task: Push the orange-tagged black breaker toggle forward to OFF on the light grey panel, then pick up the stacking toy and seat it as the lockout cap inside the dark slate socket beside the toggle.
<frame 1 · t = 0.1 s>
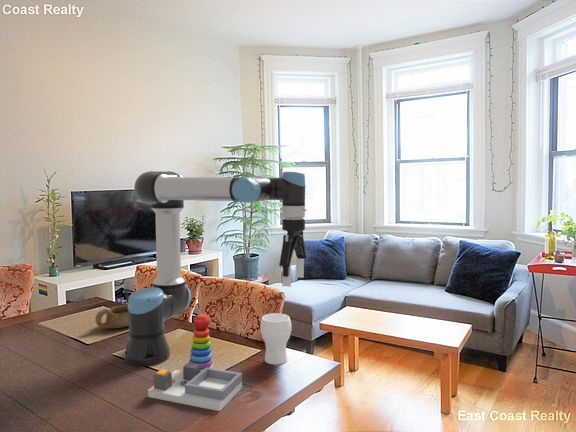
hand: (293, 281, 146), 28 cm above the table, fingers open, 13 cm apart
panel: (196, 392, 128), on the table
brown mug: (118, 327, 183), on the table
toggle 2: (191, 371, 132), point 4 cm above the table, slide at 5.0 cm
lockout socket: (214, 393, 127), resting on panel
stacking toy: (200, 371, 142), on the table
cup: (275, 360, 150), on the table
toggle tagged: (162, 379, 126), point 4 cm above the table, slide at 0.0 cm
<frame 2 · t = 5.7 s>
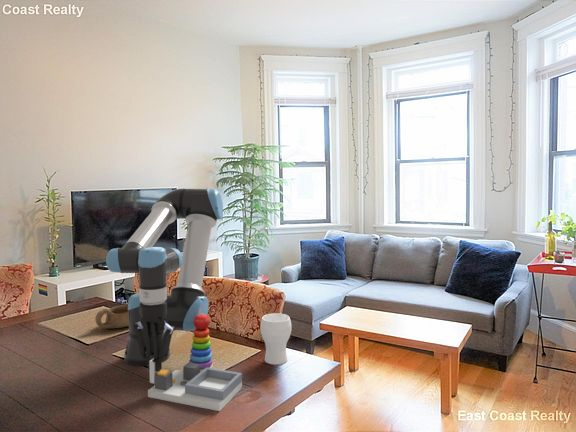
hand: (154, 381, 127), 4 cm above the table, fingers closed
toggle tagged: (163, 379, 126), point 4 cm above the table, slide at 0.3 cm, touching gripper
everything else where it was.
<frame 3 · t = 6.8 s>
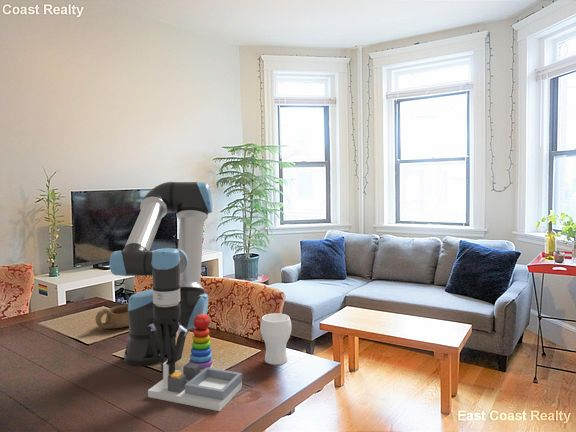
hand: (168, 383, 126), 3 cm above the table, fingers closed
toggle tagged: (176, 381, 125), point 4 cm above the table, slide at 4.7 cm, touching gripper
everything else where it was.
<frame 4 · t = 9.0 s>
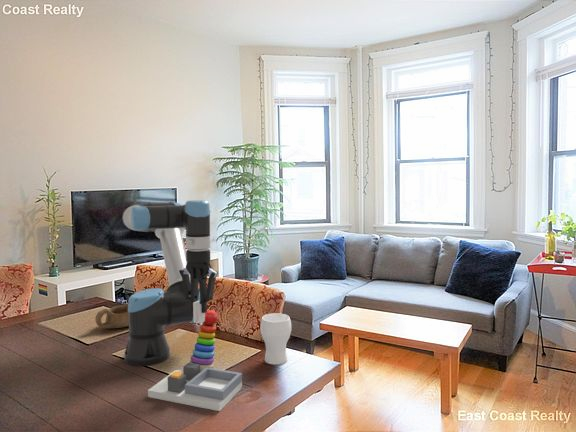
hand: (199, 321, 140), 16 cm above the table, fingers closed
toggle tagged: (176, 381, 125), point 4 cm above the table, slide at 4.7 cm
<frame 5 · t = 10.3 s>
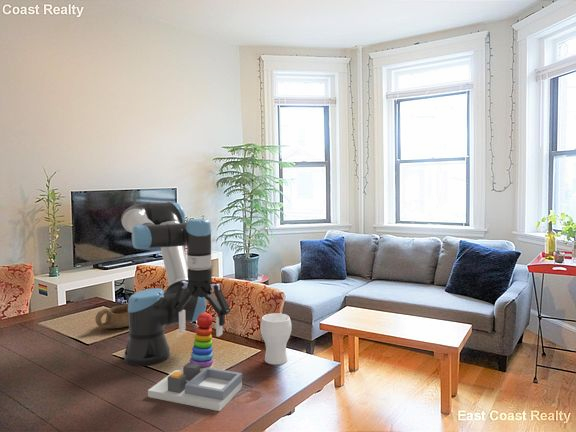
hand: (200, 333, 140), 13 cm above the table, fingers open, 13 cm apart
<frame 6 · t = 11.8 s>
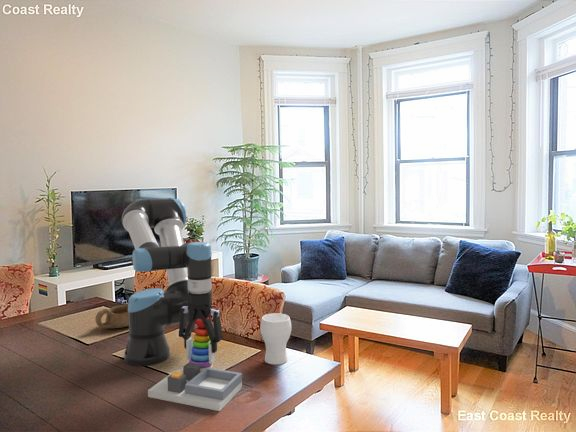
hand: (200, 359, 142), 4 cm above the table, fingers closed on stacking toy, 7 cm apart
stacking toy: (200, 370, 142), on the table, touching gripper
everything else where it was.
when the fingers open (8 cm above the table, at t = 17.0 s): stacking toy drops 2 cm, resting on panel.
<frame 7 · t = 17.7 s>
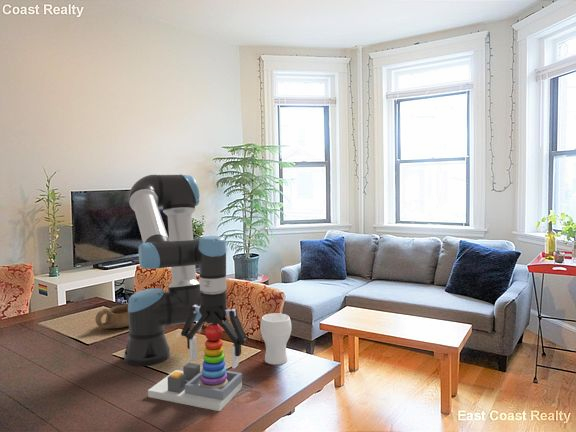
hand: (214, 363, 126), 9 cm above the table, fingers open, 13 cm apart
stacking toy: (214, 387, 127), point 2 cm above the table, touching panel
everything else where it was.
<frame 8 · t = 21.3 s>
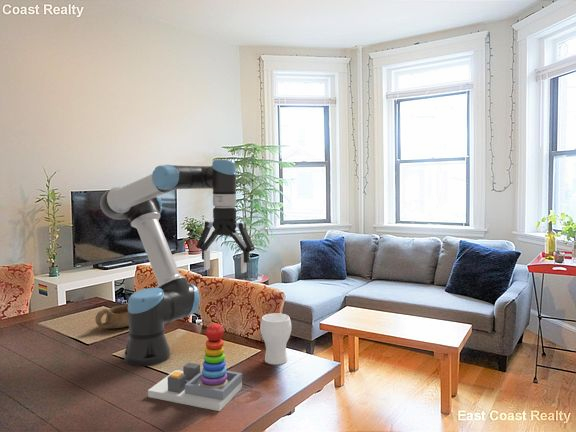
hand: (225, 270, 145), 32 cm above the table, fingers open, 13 cm apart
nothing on the table moved.
at the end: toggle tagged slide at 4.7 cm; stacking toy 0.0 cm from the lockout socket (horizontally); stacking toy tilted 0° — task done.
